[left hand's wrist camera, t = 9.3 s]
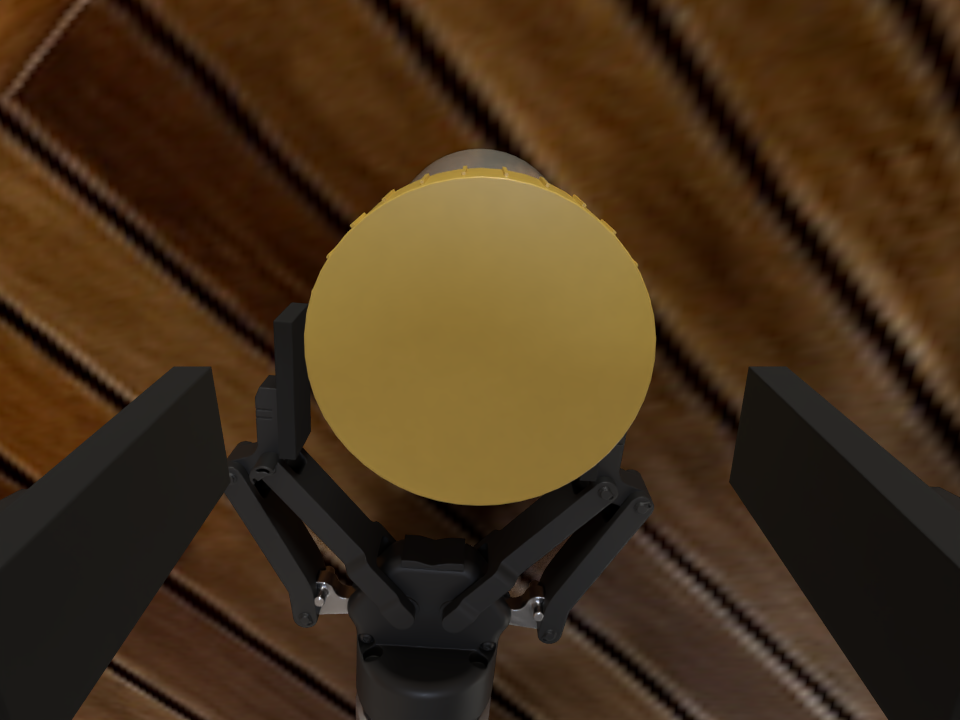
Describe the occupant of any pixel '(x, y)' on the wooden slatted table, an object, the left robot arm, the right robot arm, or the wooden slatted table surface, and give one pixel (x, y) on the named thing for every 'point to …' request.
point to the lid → (479, 338)
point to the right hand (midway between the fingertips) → (449, 323)
